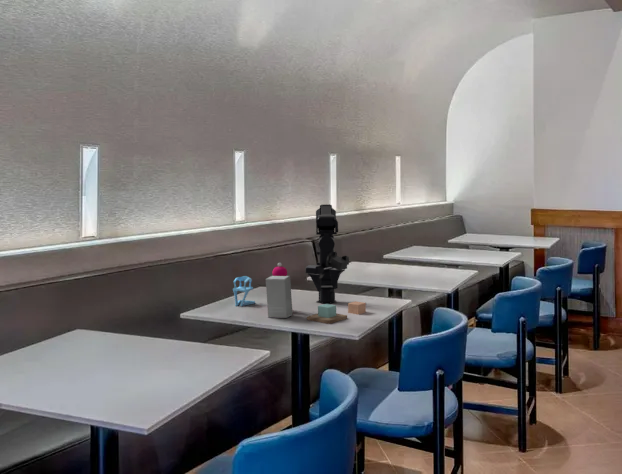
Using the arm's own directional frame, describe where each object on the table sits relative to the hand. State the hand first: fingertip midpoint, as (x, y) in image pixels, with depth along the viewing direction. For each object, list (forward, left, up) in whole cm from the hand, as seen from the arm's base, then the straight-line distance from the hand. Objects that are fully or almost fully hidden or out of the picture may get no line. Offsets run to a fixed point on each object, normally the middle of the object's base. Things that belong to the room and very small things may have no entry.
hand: (326, 289), depth 230 cm
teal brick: (0, 0, -10) cm, 10 cm away
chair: (-46, -1, -12) cm, 47 cm away
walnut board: (0, 0, -11) cm, 11 cm away
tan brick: (+2, +16, -12) cm, 20 cm away
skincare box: (-18, -8, -12) cm, 22 cm away
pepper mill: (-24, -1, -12) cm, 26 cm away
